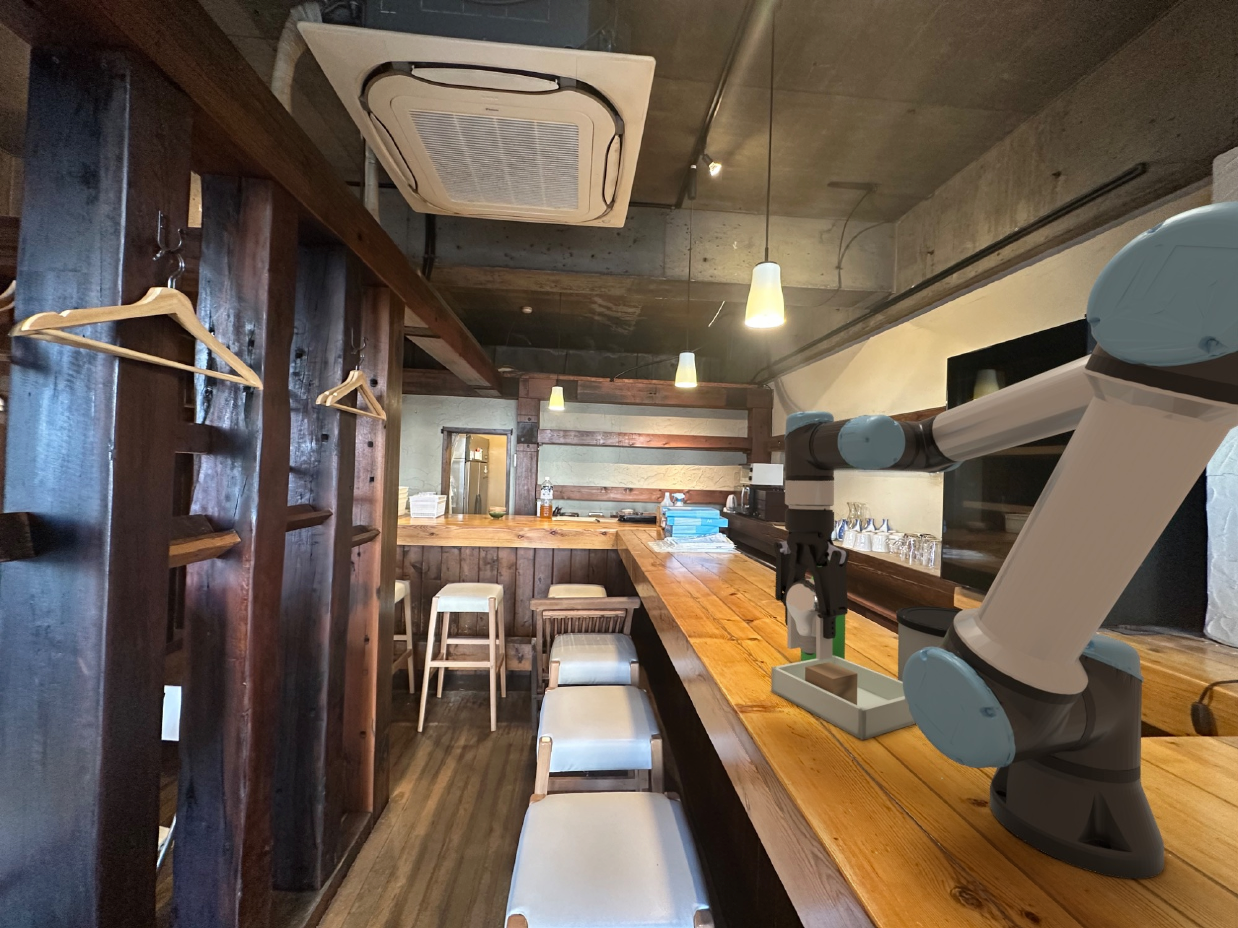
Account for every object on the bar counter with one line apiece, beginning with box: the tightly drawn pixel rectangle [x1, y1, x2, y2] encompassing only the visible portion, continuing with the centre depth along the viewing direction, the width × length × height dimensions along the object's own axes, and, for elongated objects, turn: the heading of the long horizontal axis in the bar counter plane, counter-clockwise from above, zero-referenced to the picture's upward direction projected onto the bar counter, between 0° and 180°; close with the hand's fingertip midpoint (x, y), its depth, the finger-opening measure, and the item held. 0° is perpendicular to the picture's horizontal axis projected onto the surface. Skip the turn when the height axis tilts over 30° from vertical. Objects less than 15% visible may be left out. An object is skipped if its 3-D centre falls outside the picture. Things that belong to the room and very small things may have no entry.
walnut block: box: [805, 662, 858, 705], centre depth 91 cm, size 6×6×6 cm
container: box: [895, 605, 963, 682], centre depth 95 cm, size 19×19×15 cm
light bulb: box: [786, 578, 829, 655], centre depth 84 cm, size 7×7×12 cm
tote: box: [770, 655, 916, 741], centre depth 92 cm, size 20×17×4 cm
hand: (809, 652), depth 83 cm, fingers closed on light bulb, 5 cm apart
